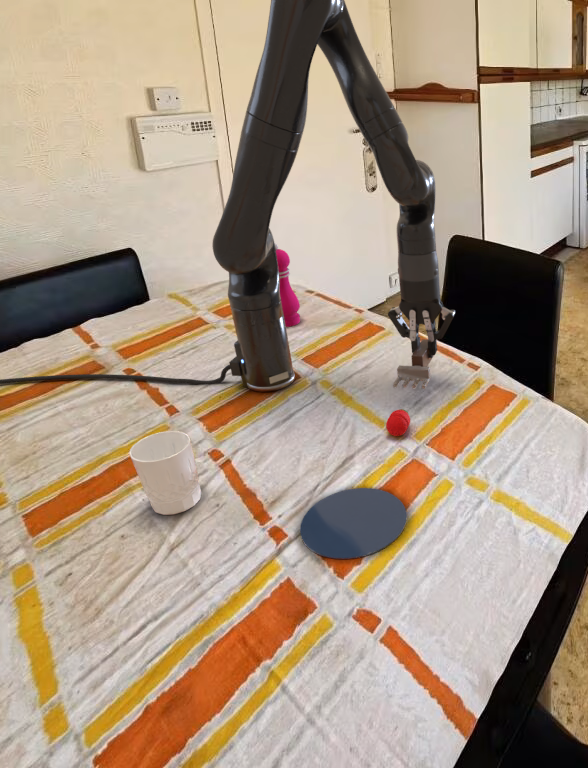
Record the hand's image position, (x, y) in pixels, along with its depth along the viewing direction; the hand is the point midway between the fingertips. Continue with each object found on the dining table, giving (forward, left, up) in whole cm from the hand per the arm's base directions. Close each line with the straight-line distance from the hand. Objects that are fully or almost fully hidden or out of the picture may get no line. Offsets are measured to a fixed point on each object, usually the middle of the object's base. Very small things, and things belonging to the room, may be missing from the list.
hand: (424, 355), depth 125 cm
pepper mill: (-41, +25, -6) cm, 48 cm away
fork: (0, -5, -1) cm, 5 cm away
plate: (0, -44, -5) cm, 45 cm away
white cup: (-28, -43, -6) cm, 52 cm away
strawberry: (0, -20, -5) cm, 21 cm away
